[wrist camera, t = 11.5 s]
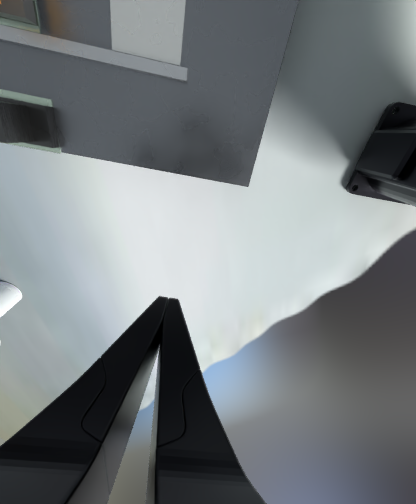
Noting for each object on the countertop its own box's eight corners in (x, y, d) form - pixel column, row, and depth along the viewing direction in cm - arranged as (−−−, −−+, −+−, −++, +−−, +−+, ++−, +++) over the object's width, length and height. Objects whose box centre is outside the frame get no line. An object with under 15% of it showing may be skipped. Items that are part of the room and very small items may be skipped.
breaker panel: (332, -159, 10) (427, -382, 6) (244, 182, 18) (255, 199, 14) (-140, -323, 8) (-527, -829, 4) (-4, 136, 16) (-81, 137, 12)
